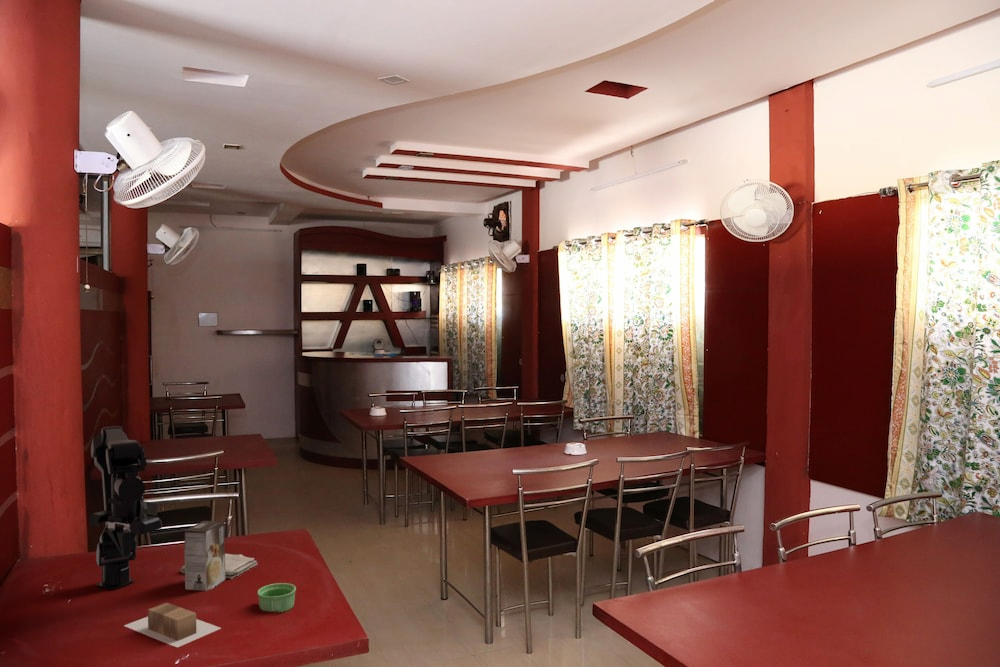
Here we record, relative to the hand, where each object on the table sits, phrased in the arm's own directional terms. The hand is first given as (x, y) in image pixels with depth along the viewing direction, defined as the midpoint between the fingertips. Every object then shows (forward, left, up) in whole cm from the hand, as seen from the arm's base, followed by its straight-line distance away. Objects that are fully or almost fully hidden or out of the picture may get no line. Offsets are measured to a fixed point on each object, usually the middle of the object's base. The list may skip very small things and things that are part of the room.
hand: (125, 556), depth 174 cm
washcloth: (+2, +28, -13) cm, 31 cm away
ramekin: (+35, +14, -12) cm, 40 cm away
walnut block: (+18, -6, -9) cm, 21 cm away
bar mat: (+22, -6, -12) cm, 26 cm away
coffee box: (+8, +17, -12) cm, 23 cm away
